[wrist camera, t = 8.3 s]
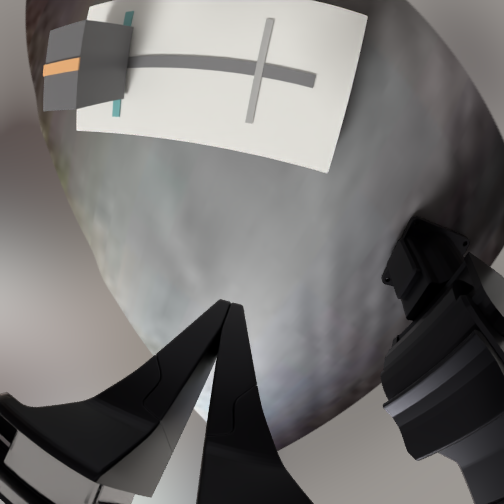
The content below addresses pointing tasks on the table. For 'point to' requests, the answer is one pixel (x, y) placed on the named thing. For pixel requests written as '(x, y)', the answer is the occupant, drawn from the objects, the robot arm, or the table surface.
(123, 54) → the fader
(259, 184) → the table surface
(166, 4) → the console
